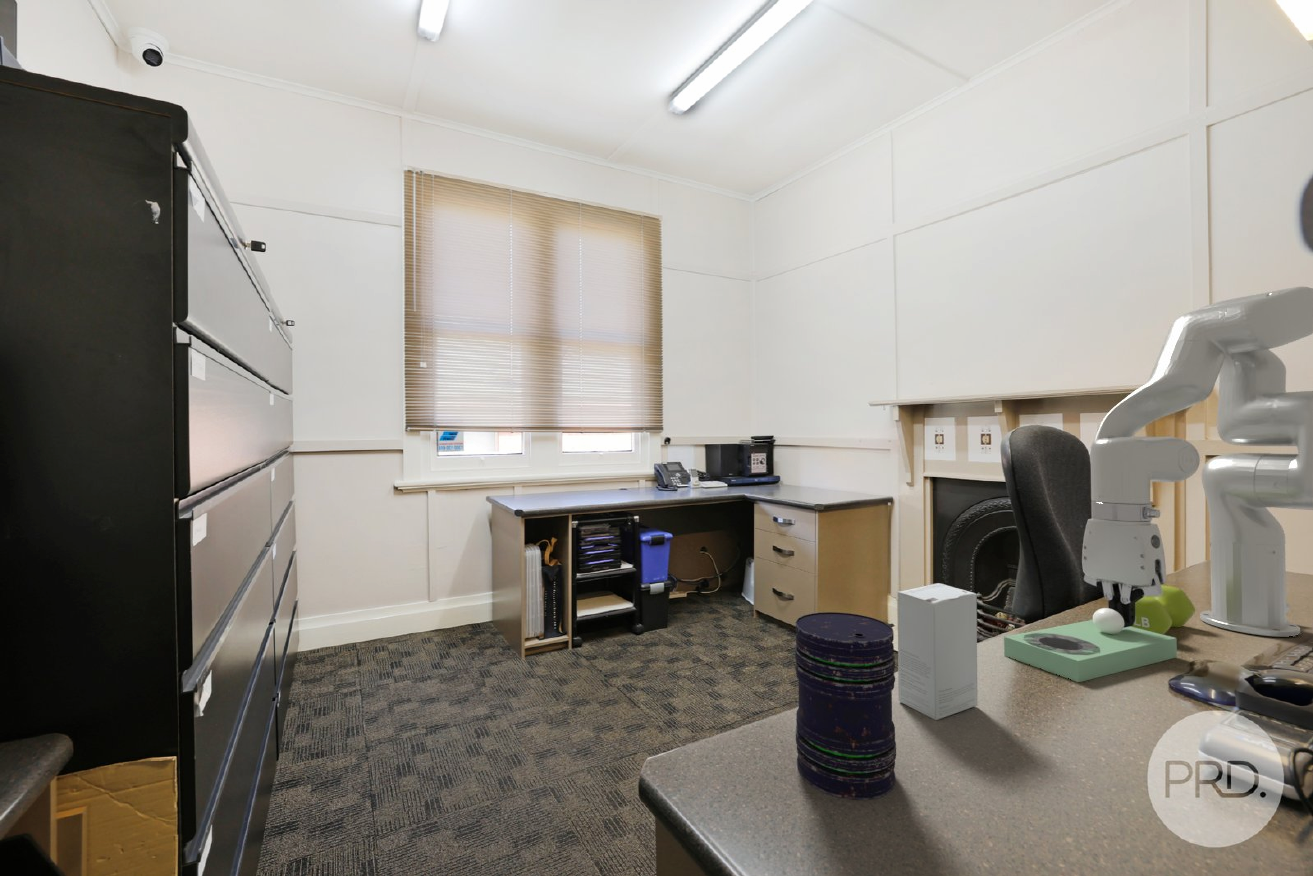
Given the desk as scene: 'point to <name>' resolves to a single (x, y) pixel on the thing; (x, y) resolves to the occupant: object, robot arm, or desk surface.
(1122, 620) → the white egg
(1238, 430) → the robot arm
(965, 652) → the skincare box
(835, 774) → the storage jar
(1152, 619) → the dumbbell
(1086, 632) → the putting mat
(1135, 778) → the desk surface
